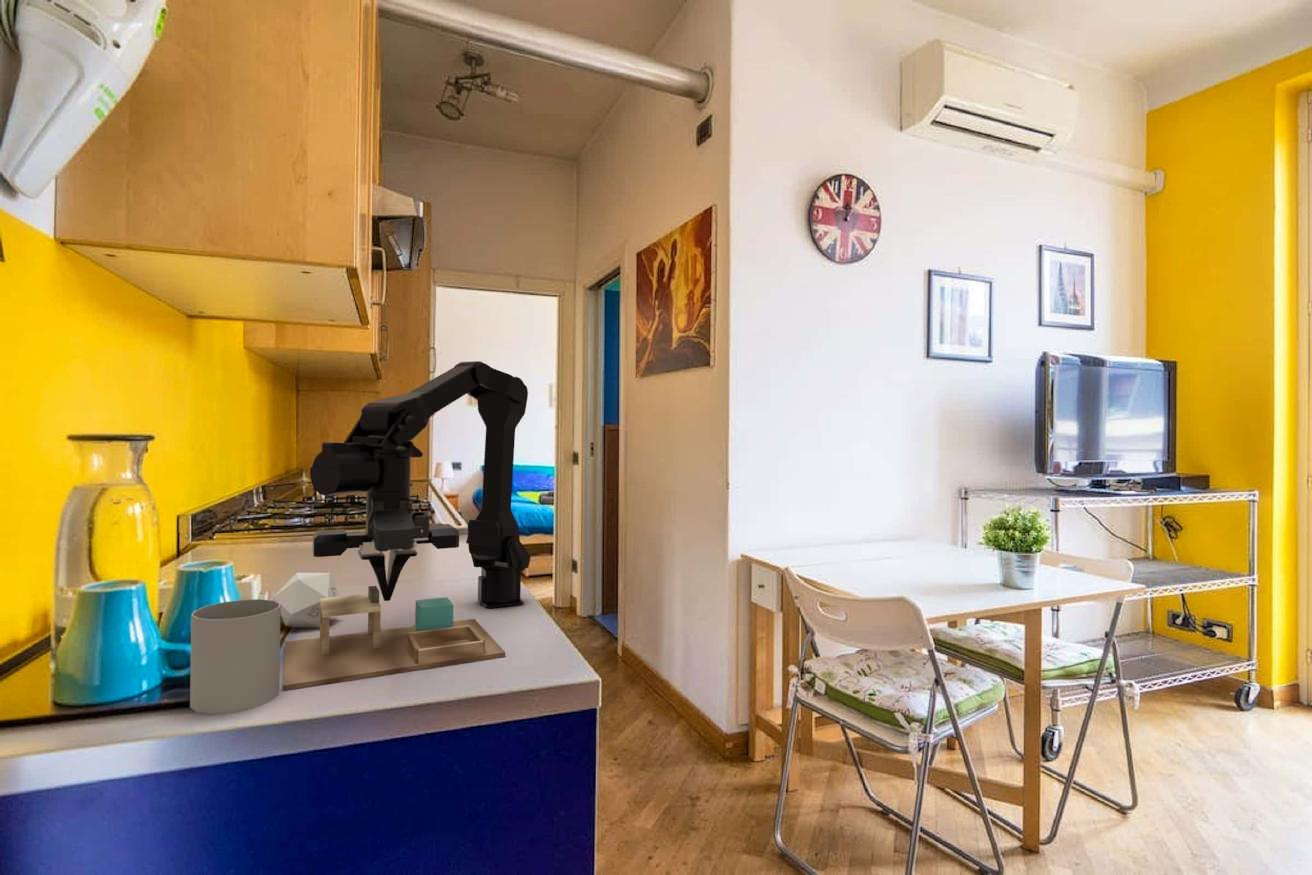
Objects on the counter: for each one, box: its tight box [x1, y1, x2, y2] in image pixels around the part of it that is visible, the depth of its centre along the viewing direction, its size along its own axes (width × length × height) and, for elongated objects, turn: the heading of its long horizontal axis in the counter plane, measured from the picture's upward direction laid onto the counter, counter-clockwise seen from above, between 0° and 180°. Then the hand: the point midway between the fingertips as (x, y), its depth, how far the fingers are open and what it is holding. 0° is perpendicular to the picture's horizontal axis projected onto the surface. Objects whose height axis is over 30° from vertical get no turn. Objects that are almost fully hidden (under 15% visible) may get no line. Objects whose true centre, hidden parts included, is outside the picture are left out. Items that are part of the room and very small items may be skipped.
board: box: [282, 618, 506, 692], centre depth 89 cm, size 26×17×2 cm, turn 119°
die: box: [272, 572, 341, 629], centre depth 100 cm, size 8×9×10 cm
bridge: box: [319, 585, 382, 656], centre depth 90 cm, size 7×8×7 cm
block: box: [414, 596, 454, 632], centre depth 95 cm, size 4×4×4 cm
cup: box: [189, 598, 281, 715], centre depth 73 cm, size 8×8×10 cm
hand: (386, 600), depth 92 cm, fingers closed
